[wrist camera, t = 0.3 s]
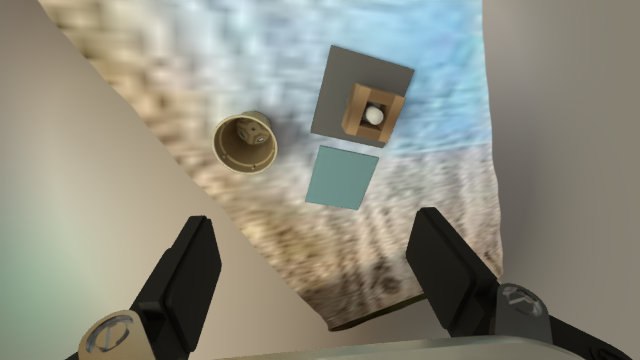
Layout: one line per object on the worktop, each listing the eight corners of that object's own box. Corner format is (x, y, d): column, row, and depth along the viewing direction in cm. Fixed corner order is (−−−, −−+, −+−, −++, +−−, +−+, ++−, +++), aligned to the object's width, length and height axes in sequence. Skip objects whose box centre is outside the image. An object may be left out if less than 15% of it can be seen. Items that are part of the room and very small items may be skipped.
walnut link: (354, 81, 35) (360, 86, 32) (395, 92, 36) (405, 98, 33) (341, 125, 38) (345, 133, 35) (379, 133, 39) (387, 142, 36)
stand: (331, 45, 38) (343, 46, 29) (410, 68, 41) (444, 77, 31) (310, 130, 44) (314, 153, 35) (380, 145, 47) (401, 170, 38)
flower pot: (260, 162, 47) (254, 185, 39) (215, 132, 43) (199, 151, 35) (290, 124, 44) (290, 142, 36) (244, 89, 40) (233, 101, 32)
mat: (320, 145, 46) (320, 146, 46) (378, 157, 48) (378, 158, 48) (305, 200, 52) (305, 201, 52) (357, 208, 54) (357, 210, 54)
